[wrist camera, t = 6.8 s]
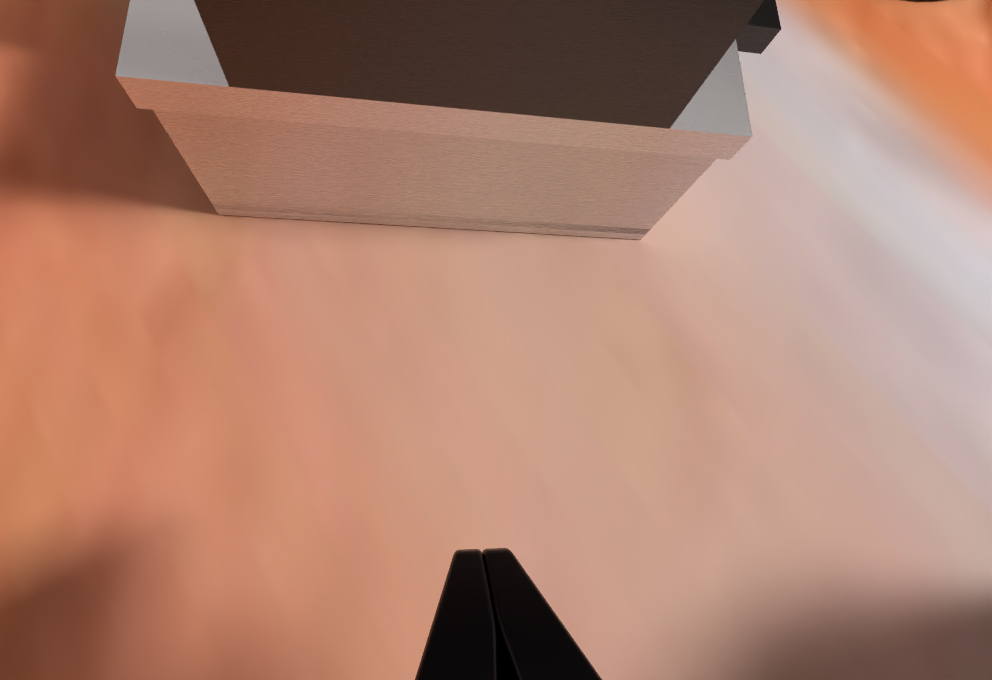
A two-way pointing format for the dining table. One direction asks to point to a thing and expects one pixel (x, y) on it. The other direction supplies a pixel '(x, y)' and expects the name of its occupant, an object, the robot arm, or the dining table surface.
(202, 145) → the grey recessed tray
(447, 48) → the lid
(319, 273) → the dining table surface
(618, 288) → the dining table surface
